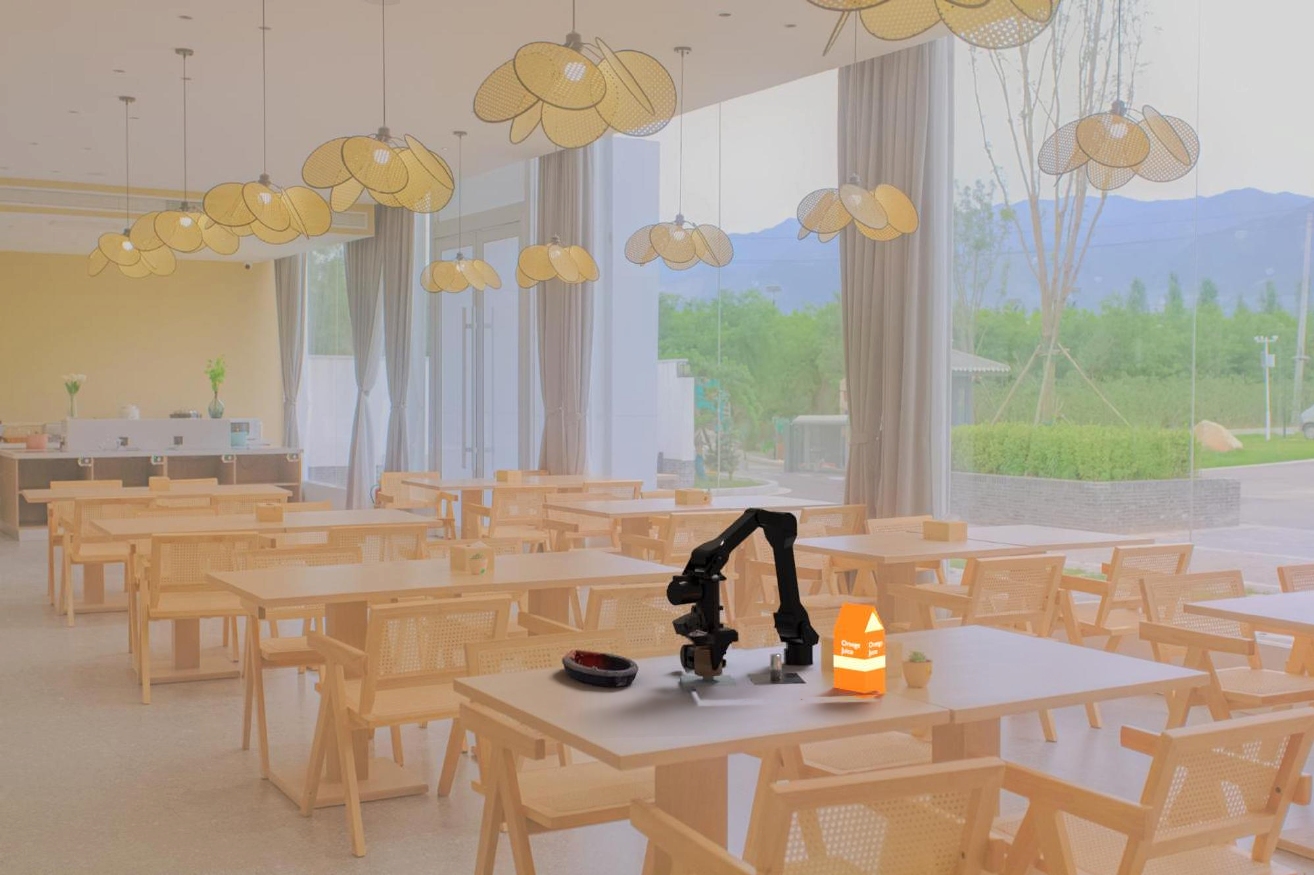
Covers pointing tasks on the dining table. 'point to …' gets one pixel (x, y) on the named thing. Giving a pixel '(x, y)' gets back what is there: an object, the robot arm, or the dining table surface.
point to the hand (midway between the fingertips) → (708, 668)
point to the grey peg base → (705, 681)
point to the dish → (600, 668)
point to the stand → (776, 674)
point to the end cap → (691, 656)
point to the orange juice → (859, 650)
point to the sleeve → (704, 662)
